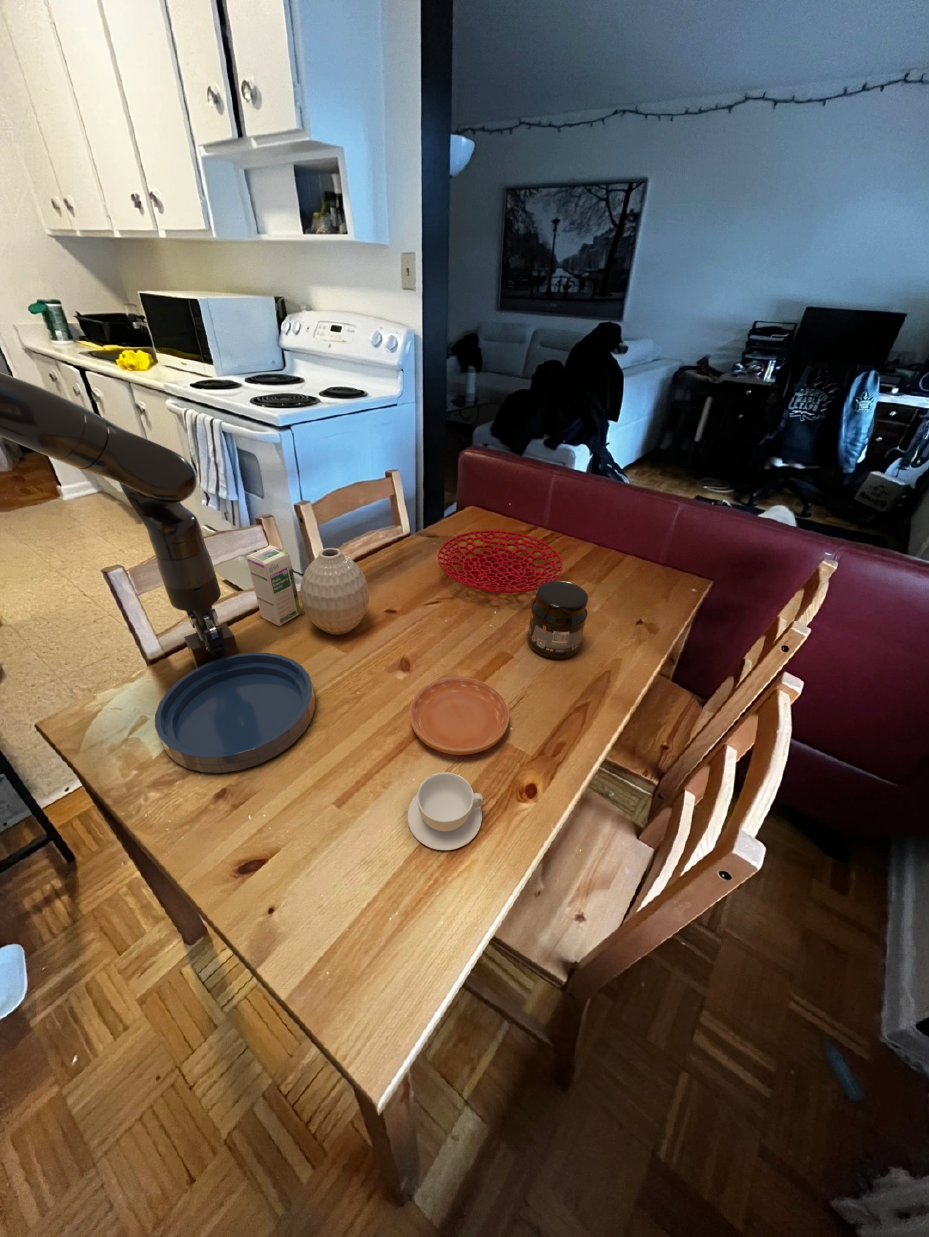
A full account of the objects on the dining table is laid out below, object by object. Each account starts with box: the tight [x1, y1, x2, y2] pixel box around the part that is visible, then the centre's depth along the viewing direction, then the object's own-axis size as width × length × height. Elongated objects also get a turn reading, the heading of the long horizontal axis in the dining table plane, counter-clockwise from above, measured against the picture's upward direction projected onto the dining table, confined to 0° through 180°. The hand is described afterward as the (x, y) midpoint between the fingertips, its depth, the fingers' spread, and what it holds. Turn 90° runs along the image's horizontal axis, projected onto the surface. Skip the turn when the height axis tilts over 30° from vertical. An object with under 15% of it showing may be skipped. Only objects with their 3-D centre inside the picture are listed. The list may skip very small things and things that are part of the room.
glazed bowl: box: [154, 651, 316, 773], centre depth 79 cm, size 23×23×4 cm
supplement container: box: [526, 580, 589, 660], centre depth 95 cm, size 10×10×12 cm
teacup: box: [407, 771, 484, 851], centre depth 66 cm, size 10×10×5 cm
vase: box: [299, 547, 370, 636], centre depth 96 cm, size 13×13×17 cm
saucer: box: [408, 676, 510, 756], centre depth 80 cm, size 16×16×3 cm
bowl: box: [437, 529, 564, 594], centre depth 118 cm, size 30×30×5 cm
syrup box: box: [245, 544, 302, 627], centre depth 98 cm, size 6×6×14 cm
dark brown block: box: [183, 622, 240, 669], centre depth 88 cm, size 7×4×6 cm, turn 129°
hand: (215, 656), depth 89 cm, fingers closed on dark brown block, 4 cm apart
